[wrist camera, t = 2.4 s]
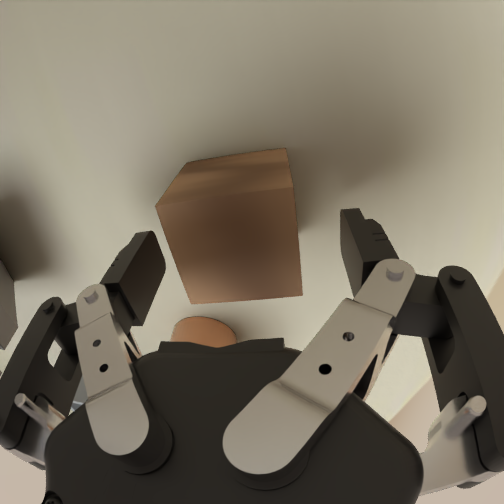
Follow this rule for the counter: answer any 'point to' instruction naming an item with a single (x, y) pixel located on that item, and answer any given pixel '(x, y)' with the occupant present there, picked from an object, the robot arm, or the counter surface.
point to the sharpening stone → (6, 308)
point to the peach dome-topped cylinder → (203, 332)
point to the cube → (234, 228)
